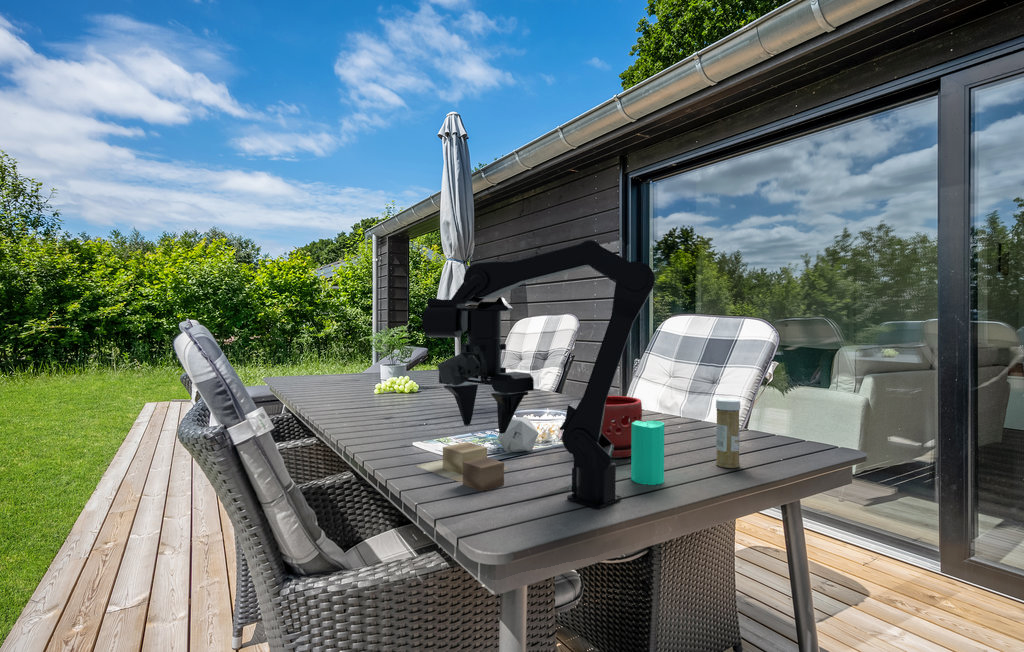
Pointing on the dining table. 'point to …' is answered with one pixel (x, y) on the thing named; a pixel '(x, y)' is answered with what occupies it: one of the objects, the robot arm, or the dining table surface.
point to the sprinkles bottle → (727, 432)
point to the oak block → (461, 455)
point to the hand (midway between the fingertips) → (484, 429)
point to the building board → (442, 470)
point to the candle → (647, 452)
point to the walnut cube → (483, 474)
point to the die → (518, 435)
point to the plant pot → (621, 422)
